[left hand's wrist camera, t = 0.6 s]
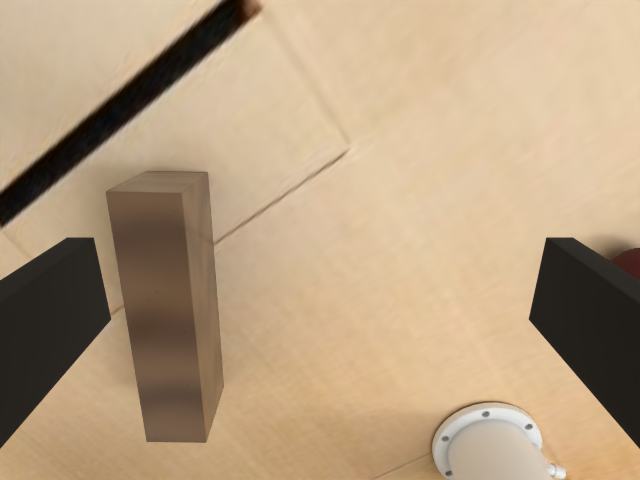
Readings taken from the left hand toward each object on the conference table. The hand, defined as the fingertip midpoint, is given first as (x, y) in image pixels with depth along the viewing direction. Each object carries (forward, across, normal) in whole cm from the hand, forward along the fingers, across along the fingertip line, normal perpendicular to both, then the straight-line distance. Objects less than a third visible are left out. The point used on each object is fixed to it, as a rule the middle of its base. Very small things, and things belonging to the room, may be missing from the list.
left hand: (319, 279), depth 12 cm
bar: (+27, -13, -15) cm, 33 cm away
